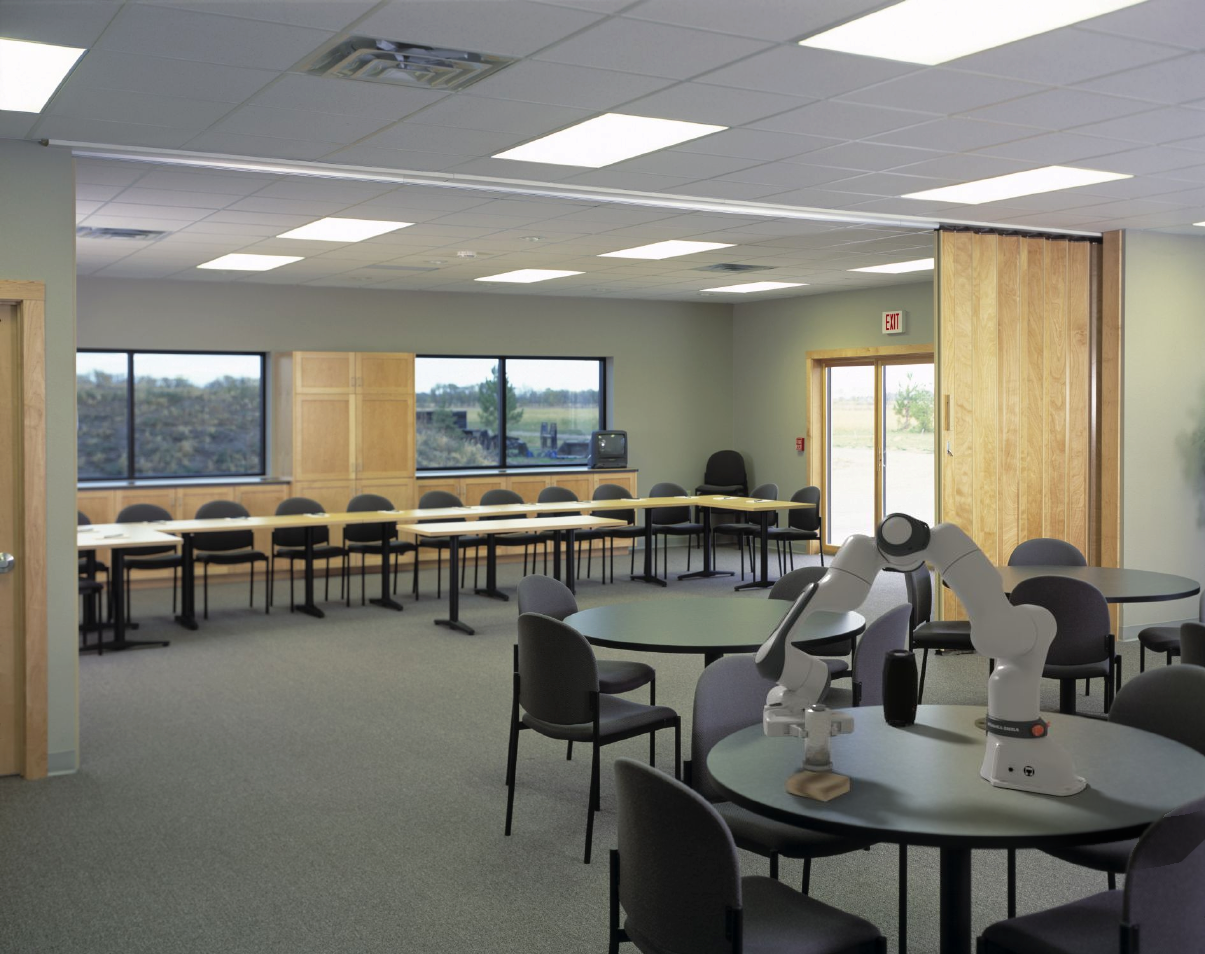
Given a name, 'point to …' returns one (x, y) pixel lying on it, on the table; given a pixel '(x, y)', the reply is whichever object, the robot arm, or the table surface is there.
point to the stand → (818, 785)
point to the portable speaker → (900, 687)
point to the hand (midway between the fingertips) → (819, 733)
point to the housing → (818, 739)
